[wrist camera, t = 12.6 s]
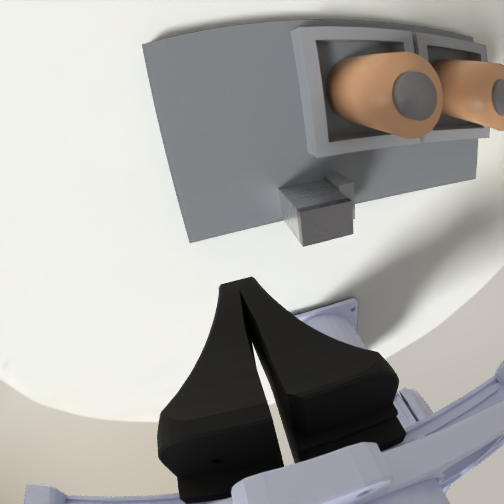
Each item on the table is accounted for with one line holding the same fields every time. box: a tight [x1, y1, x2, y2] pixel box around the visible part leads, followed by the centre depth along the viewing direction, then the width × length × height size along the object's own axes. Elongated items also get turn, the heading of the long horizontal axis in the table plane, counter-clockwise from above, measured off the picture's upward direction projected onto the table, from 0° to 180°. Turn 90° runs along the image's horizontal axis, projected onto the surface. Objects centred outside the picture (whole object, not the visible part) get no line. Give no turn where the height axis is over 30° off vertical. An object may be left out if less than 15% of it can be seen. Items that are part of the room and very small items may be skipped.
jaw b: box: [326, 52, 443, 139], centre depth 15 cm, size 4×4×6 cm
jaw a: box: [431, 59, 504, 131], centre depth 15 cm, size 4×4×6 cm
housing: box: [142, 20, 490, 243], centre depth 18 cm, size 12×24×3 cm, turn 99°
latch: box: [278, 179, 353, 247], centre depth 19 cm, size 2×3×4 cm, turn 99°
